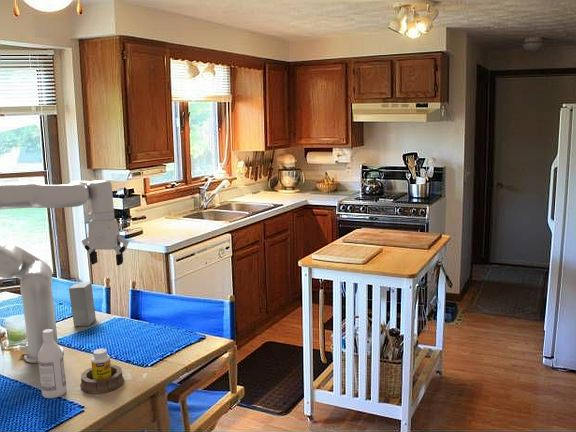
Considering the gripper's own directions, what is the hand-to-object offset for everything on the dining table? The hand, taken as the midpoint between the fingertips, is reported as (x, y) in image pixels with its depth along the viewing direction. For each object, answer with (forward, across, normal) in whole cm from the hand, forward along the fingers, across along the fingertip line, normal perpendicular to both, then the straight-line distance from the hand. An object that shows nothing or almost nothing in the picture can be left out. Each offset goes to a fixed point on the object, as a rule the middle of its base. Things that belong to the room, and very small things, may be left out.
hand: (107, 264), depth 203 cm
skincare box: (+31, -23, +19) cm, 43 cm away
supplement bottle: (+30, +11, -28) cm, 42 cm away
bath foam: (+31, 0, -36) cm, 47 cm away
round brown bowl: (+30, +11, -28) cm, 43 cm away
